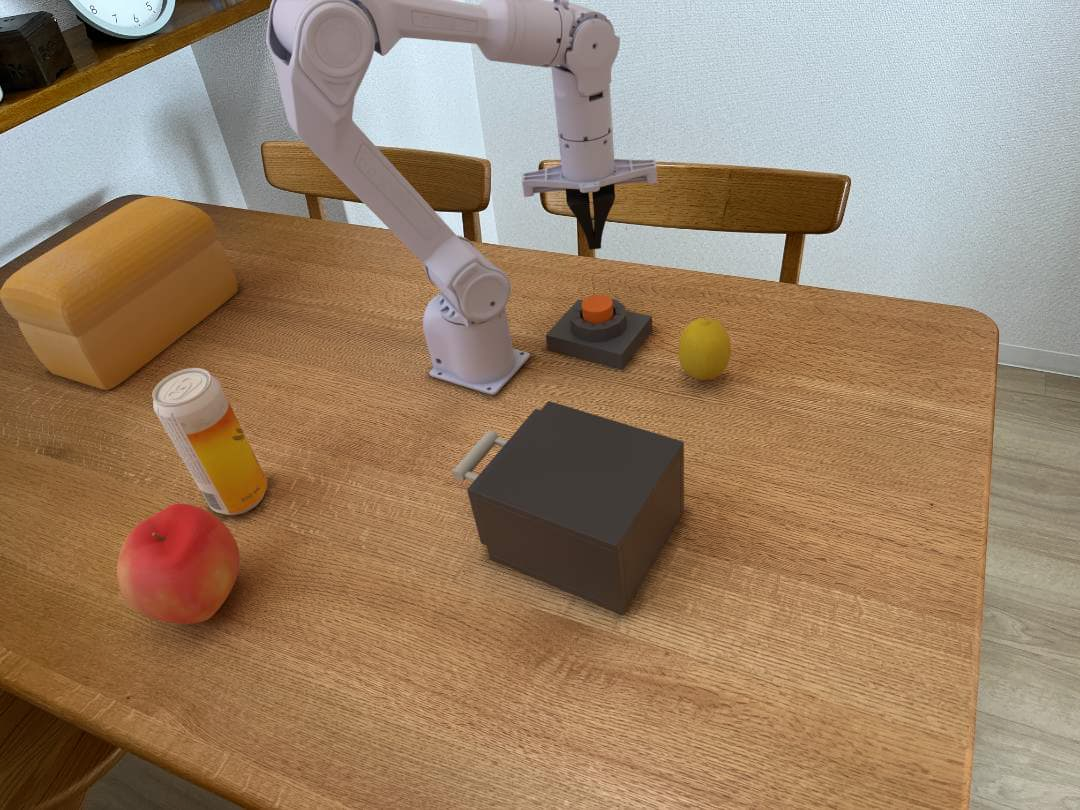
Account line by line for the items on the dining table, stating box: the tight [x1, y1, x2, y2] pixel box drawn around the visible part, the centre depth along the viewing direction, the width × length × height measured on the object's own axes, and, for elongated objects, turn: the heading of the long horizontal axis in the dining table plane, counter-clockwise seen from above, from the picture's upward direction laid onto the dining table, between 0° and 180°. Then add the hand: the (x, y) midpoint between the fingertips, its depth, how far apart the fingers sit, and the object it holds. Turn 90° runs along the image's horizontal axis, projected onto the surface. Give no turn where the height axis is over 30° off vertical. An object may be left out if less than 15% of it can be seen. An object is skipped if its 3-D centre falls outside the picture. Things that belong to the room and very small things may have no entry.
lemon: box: [677, 317, 732, 381], centre depth 86 cm, size 6×6×8 cm
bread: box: [0, 195, 239, 391], centre depth 106 cm, size 24×13×15 cm, turn 153°
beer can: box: [151, 367, 268, 516], centre depth 79 cm, size 6×6×15 cm
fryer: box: [473, 400, 685, 616], centre depth 71 cm, size 14×13×9 cm
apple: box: [116, 503, 240, 625], centre depth 70 cm, size 10×10×10 cm
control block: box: [545, 298, 653, 370], centre depth 95 cm, size 10×8×4 cm
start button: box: [581, 294, 613, 324], centre depth 94 cm, size 4×4×2 cm
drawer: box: [450, 408, 541, 546], centre depth 73 cm, size 17×11×7 cm
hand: (594, 244), depth 93 cm, fingers closed
